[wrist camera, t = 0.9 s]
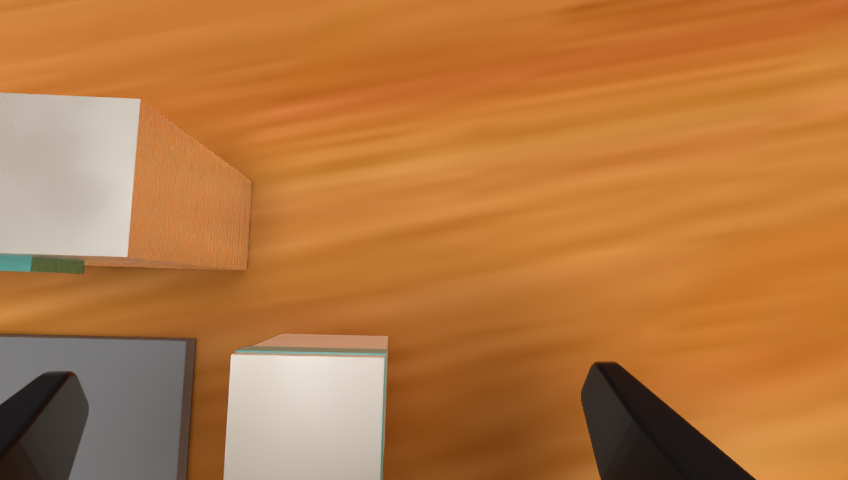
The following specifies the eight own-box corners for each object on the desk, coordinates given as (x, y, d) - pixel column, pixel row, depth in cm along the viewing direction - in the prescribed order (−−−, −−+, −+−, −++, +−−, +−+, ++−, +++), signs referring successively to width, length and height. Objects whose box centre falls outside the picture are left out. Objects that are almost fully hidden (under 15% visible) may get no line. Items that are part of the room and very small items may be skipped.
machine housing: (246, 279, 22) (125, 273, 12) (-49, 271, 22) (-421, 257, 12) (252, 181, 23) (140, 99, 13) (-37, 170, 22) (-387, 75, 12)
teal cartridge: (385, 444, 22) (380, 516, 15) (275, 443, 22) (219, 515, 15) (389, 334, 23) (385, 356, 16) (282, 332, 22) (229, 352, 15)
